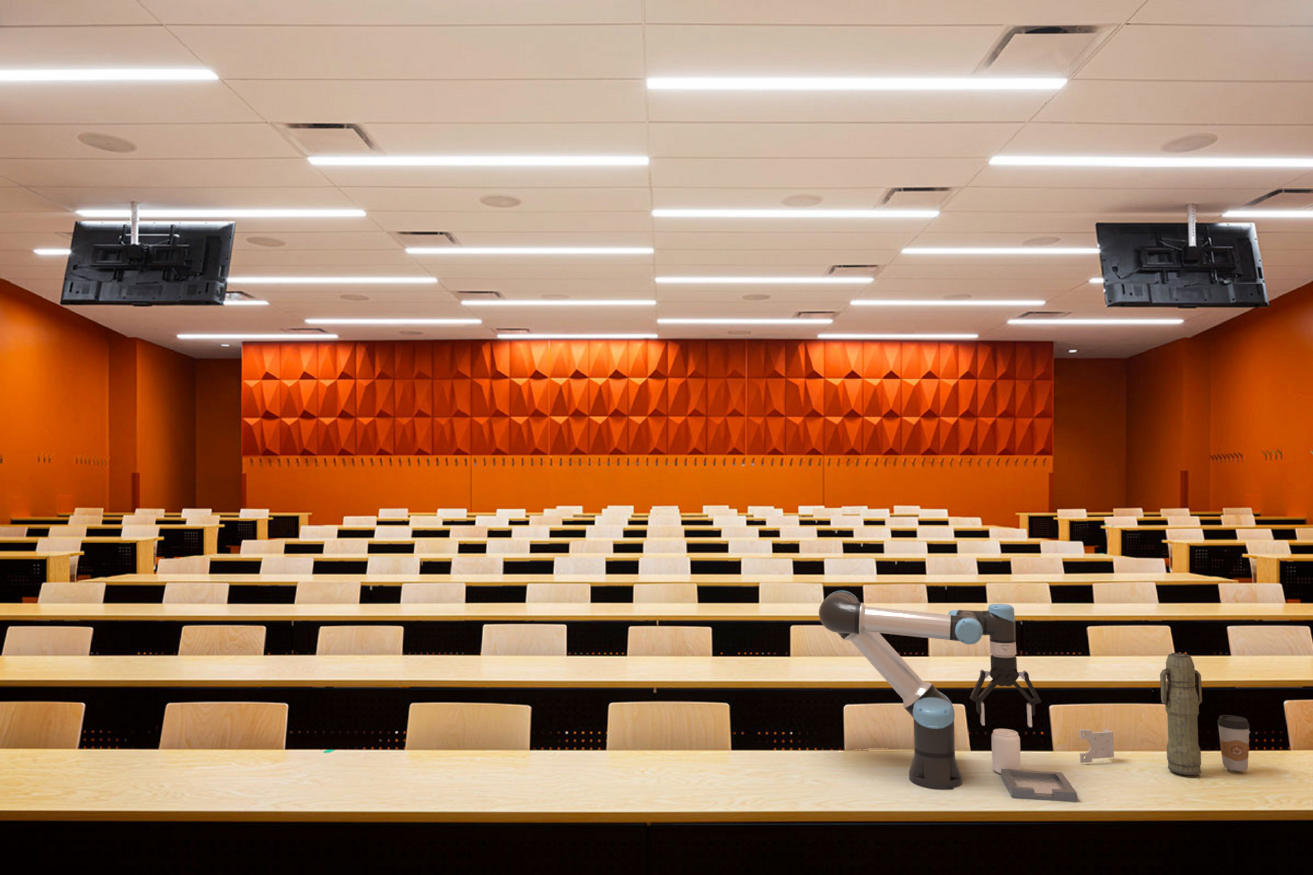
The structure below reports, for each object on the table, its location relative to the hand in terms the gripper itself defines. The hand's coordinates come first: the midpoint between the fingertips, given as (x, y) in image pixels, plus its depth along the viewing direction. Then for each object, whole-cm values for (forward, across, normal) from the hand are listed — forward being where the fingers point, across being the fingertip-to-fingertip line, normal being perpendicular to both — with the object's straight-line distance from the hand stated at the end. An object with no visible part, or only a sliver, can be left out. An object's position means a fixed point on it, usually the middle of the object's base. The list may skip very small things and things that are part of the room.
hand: (1006, 725), depth 265 cm
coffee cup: (+15, +68, +16) cm, 72 cm away
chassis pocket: (+14, +6, -14) cm, 21 cm away
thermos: (+15, +53, +11) cm, 56 cm away
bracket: (+15, +29, +17) cm, 36 cm away
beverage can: (+14, 0, 0) cm, 14 cm away
